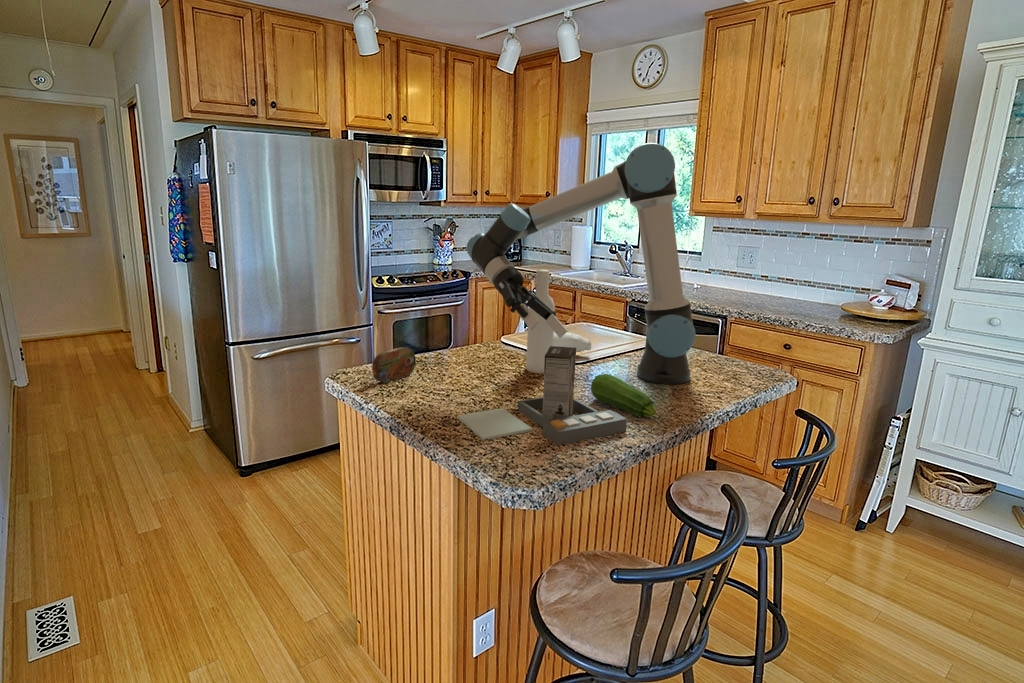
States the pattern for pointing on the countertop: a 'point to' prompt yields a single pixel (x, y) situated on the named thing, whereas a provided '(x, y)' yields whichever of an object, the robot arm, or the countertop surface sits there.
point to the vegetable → (622, 395)
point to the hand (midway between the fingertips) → (550, 330)
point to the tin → (393, 364)
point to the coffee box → (559, 382)
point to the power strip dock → (574, 422)
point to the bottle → (540, 328)
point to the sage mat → (494, 423)
